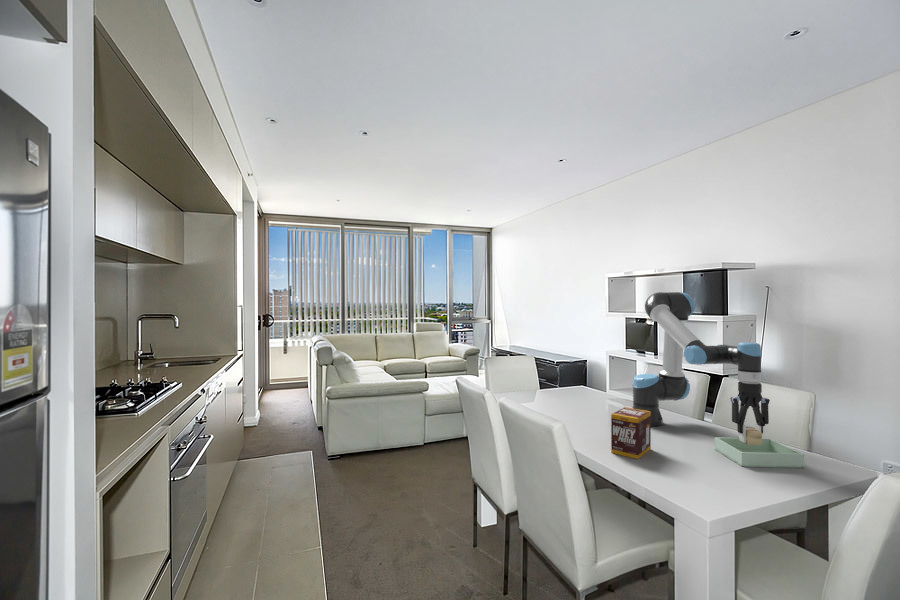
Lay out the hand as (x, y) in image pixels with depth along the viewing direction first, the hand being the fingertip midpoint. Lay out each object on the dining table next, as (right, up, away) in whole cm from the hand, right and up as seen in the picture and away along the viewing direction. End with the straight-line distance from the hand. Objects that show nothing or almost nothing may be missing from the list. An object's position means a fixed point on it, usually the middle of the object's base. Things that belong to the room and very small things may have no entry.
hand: (750, 441), depth 164 cm
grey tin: (+8, -5, +12) cm, 15 cm away
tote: (0, -5, -4) cm, 6 cm away
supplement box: (-45, -5, +4) cm, 45 cm away
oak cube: (0, 0, 0) cm, 1 cm away
